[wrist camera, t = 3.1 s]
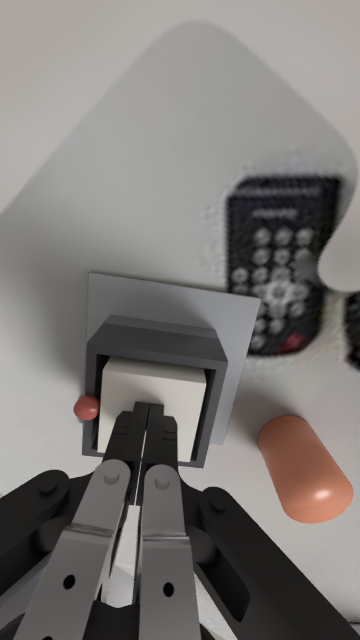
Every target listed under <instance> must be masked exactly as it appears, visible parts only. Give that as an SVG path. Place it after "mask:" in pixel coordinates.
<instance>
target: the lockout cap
mask: <svg viewBox="0 0 360 640" xmlns="http://www.w3.org/2000/svg"><path fill="white" fill-rule="evenodd" d="M258 445H259V448H260V450H261V453H262V456H263V458H264V461H265V463H266V466H267V469H268V471H269V474H270V476H271V479H272V482H273V484H274V487H275V489H276V492H277V494H278V497H279V500H280V502H281V505H282V507H283V510H284V512H285V513H286V514H287V515H288V516H289V517H290V518H292V519H294V520H296V521H298V522H302V523H320V522H324V521H328V520H330V519H333V518H335V517H337V516H338V515H340V514H341V513H342V512H344V511H345V510H346V509H347V507H348V506H349V505H350V503H351V501H352V498H353V488H352V485H351V484H350V482H349V481H348V479H347V478H346V476H345V475H344V473H343V472H342V470H341V469H340V468H339V466H338V465H337V463H336V462H335V460H334V459H333V458H332V456H331V455H330V453H329V452H328V450H327V449H326V448H325V446H324V445H323V443H322V442H321V440H320V439H319V437H318V436H317V435H316V433H315V432H314V430H313V429H312V427H311V426H310V425H309V423H308V422H307V421H306V420H304V419H302V418H300V417H297V416H291V415H288V416H281V417H277V418H275V419H273V420H271V421H269V422H268V423H267V424H265V426H264V427H263V428H262V429H261V431H260V433H259V436H258Z"/></svg>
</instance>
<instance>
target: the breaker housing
mask: <svg viewBox="0 0 360 640" xmlns="http://www.w3.org/2000/svg"><path fill="white" fill-rule="evenodd" d="M260 301H261V298H259V297H253V296H246V295H239V294H233V293H226V292H220V291H213V290H206V289H200V288H193V287H186V286H180V285H173V284H167V283H160V282H153V281H147V280H140V279H133V278H127V277H120V276H114V275H107V274H100V273H94V272H90V273H89V277H88V301H87V326H86V350H85V375H84V395H83V396H81V397H80V398H79V399H78V401H77V402H76V404H75V406H74V413H75V415H76V416H77V417H78V418H80V419H82V420H83V424H82V429H83V441H82V455H85V456H94V457H104V454H105V453H101V452H97V451H98V435H99V420H100V405H101V390H102V375H103V369H104V367H105V365H106V364H107V362H108V360H109V358H110V356H117V357H125V358H132V359H140V360H147V361H155V362H162V363H170V364H177V365H185V366H193V367H200V368H203V369H204V374H205V379H206V388H205V393H204V397H203V402H202V407H201V411H200V416H199V420H198V425H197V430H196V434H195V439H194V444H193V448H192V453H191V458H190V462H183V461H178V466H186V467H195V468H203V467H204V463H205V458H206V454H207V450H208V446H209V444H217V445H223V443H224V439H225V435H226V431H227V427H228V424H229V420H230V416H231V412H232V408H233V405H234V401H235V397H236V393H237V389H238V385H239V382H240V378H241V374H242V370H243V366H244V363H245V359H246V355H247V351H248V347H249V343H250V340H251V336H252V332H253V328H254V324H255V321H256V317H257V313H258V309H259V305H260ZM141 462H142V457H141Z"/></svg>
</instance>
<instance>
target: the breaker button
mask: <svg viewBox="0 0 360 640" xmlns="http://www.w3.org/2000/svg"><path fill="white" fill-rule="evenodd" d="M205 388H206V379H205V374H204V369H203V368H200V367H193V366H185V365H177V364H170V363H162V362H155V361H147V360H140V359H132V358H125V357H117V356H110V358H109V360H108V362H107V364H106V365H105V367H104V369H103V375H102V390H101V405H100V420H99V435H98V451H97V452H101V453H105V451H106V448H107V445H108V442H109V439H110V436H111V433H112V429H113V427H114V423H115V420H116V417H117V416H118V415H119V414H120V413H121V412H122V411H131V412H133V408H134V404H135V401H137V402H145V403H149V409H148V416H149V410H150V403H154V404H162V405H164V415H166V416H173V417H174V418H175V420H176V422H177V424H178V433H177V434H178V461H183V462H190V458H191V453H192V448H193V444H194V439H195V434H196V430H197V425H198V420H199V416H200V411H201V407H202V402H203V397H204V393H205ZM148 416H147V423H148ZM146 430H147V424H146ZM145 436H146V431H145ZM144 443H145V437H144ZM143 449H144V444H143ZM142 456H143V450H142Z"/></svg>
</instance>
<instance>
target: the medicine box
mask: <svg viewBox="0 0 360 640" xmlns="http://www.w3.org/2000/svg"><path fill="white" fill-rule="evenodd" d="M349 624H350V625H351V626H352V627H353V629H354V630H355V631H356V632H357V633H358V634H359V635H360V624H351V623H349Z"/></svg>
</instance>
